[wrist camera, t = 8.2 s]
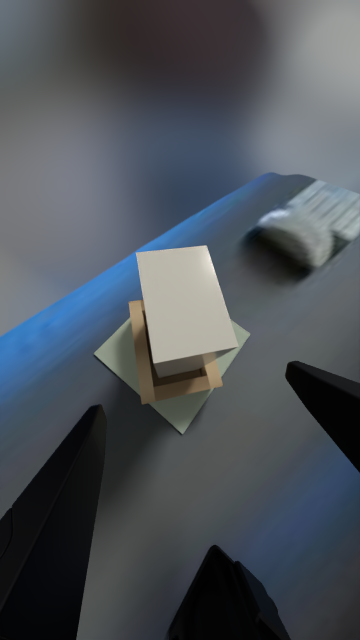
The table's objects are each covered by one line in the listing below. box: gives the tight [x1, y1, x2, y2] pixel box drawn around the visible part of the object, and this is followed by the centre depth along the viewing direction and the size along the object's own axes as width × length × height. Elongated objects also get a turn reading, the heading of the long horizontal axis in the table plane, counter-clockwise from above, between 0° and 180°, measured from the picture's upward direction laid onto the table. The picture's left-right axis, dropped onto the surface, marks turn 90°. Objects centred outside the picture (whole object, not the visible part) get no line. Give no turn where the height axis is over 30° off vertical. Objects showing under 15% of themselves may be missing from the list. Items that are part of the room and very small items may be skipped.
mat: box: [94, 317, 250, 434], centre depth 22 cm, size 14×13×1 cm
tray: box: [129, 300, 223, 405], centre depth 20 cm, size 10×8×4 cm
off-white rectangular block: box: [136, 246, 239, 379], centre depth 15 cm, size 6×4×12 cm, turn 12°
